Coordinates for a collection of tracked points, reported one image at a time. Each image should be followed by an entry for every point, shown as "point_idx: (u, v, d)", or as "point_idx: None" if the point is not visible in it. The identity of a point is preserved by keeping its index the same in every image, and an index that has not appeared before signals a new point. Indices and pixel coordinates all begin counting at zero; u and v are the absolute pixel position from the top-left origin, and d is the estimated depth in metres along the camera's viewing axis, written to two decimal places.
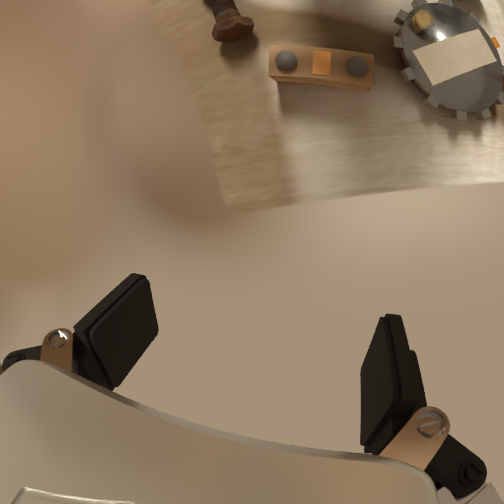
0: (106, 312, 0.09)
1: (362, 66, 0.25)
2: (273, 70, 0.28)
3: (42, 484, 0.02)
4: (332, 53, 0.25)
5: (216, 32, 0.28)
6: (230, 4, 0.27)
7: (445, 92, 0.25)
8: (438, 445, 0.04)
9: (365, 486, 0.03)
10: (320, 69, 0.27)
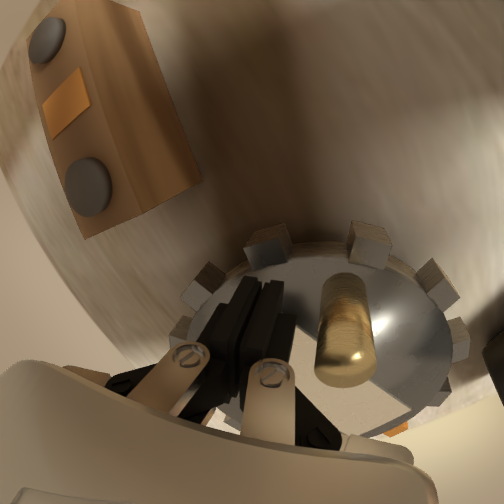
0: (238, 319, 0.09)
1: (88, 201, 0.10)
2: None
3: (42, 484, 0.02)
4: (89, 111, 0.09)
5: None
6: None
7: None
8: (292, 388, 0.07)
9: (365, 486, 0.03)
10: (53, 113, 0.09)
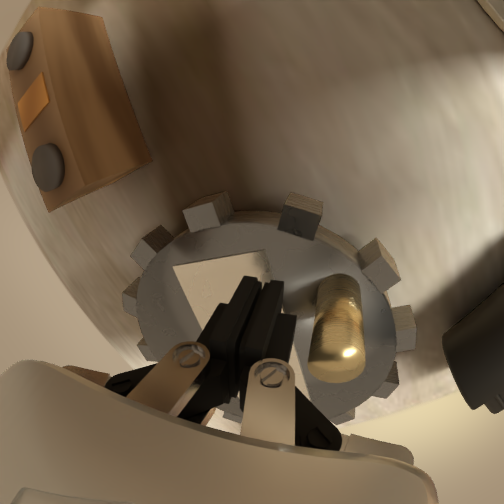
0: (238, 319, 0.09)
1: (47, 178, 0.11)
2: None
3: (42, 484, 0.02)
4: (48, 106, 0.10)
5: None
6: None
7: (164, 290, 0.16)
8: (292, 388, 0.07)
9: (365, 486, 0.03)
10: (25, 110, 0.10)
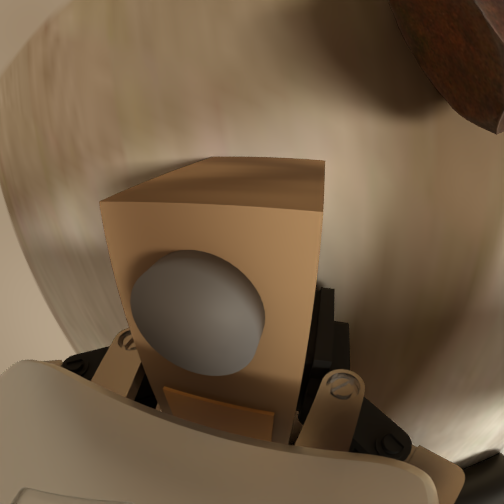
0: None
1: None
2: (129, 230, 0.05)
3: (42, 484, 0.02)
4: None
5: None
6: None
7: None
8: (359, 403, 0.06)
9: (365, 486, 0.03)
10: (188, 409, 0.07)
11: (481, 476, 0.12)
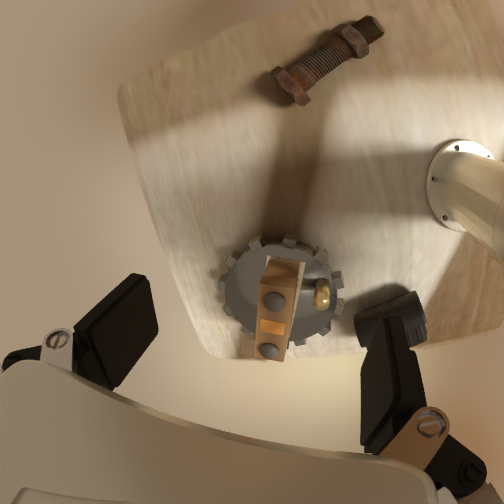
0: (106, 312, 0.09)
1: (269, 355, 0.36)
2: (264, 288, 0.32)
3: (42, 484, 0.02)
4: (282, 336, 0.35)
5: (273, 75, 0.27)
6: (320, 72, 0.27)
7: (256, 261, 0.38)
8: (438, 445, 0.04)
9: (365, 486, 0.03)
10: (265, 324, 0.34)
11: (394, 299, 0.37)
